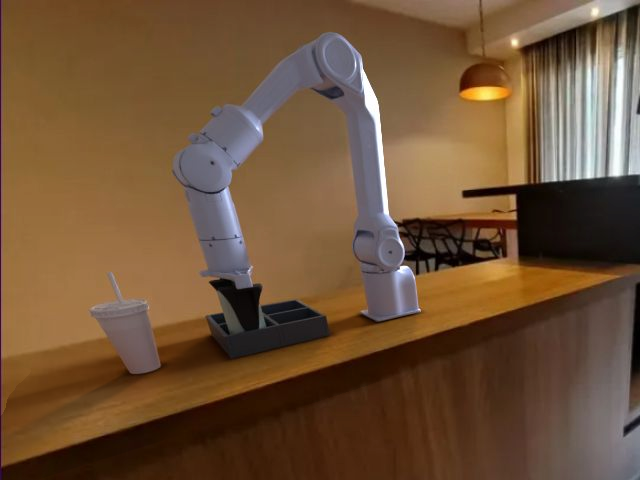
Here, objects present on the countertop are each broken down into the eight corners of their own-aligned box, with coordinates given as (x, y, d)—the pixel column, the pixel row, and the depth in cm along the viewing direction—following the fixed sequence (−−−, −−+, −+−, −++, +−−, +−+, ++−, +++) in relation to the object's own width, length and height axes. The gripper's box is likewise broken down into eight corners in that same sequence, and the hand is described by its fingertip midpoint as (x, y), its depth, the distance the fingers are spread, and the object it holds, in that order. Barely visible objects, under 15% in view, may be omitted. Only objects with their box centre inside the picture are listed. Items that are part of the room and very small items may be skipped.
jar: (263, 329, 75) (250, 283, 72) (271, 337, 72) (258, 288, 68) (228, 337, 72) (213, 288, 69) (236, 345, 69) (220, 294, 65)
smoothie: (182, 360, 67) (147, 268, 61) (146, 378, 61) (104, 278, 55) (144, 359, 68) (105, 268, 62) (105, 377, 62) (59, 278, 56)
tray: (300, 316, 87) (296, 299, 85) (330, 335, 77) (326, 315, 75) (211, 335, 78) (205, 315, 76) (231, 358, 67) (224, 336, 66)
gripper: (181, 236, 68) (210, 320, 74) (198, 245, 58) (229, 342, 64) (233, 232, 72) (255, 312, 78) (256, 240, 62) (280, 331, 68)
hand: (247, 325), depth 71 cm, fingers closed on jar, 5 cm apart
